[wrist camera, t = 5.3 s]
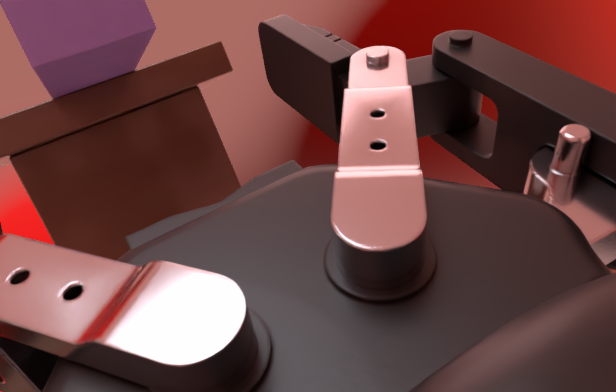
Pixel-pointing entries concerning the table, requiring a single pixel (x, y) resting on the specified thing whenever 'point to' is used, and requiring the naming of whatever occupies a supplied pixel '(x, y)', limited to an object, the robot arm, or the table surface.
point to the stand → (122, 152)
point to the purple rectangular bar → (80, 39)
